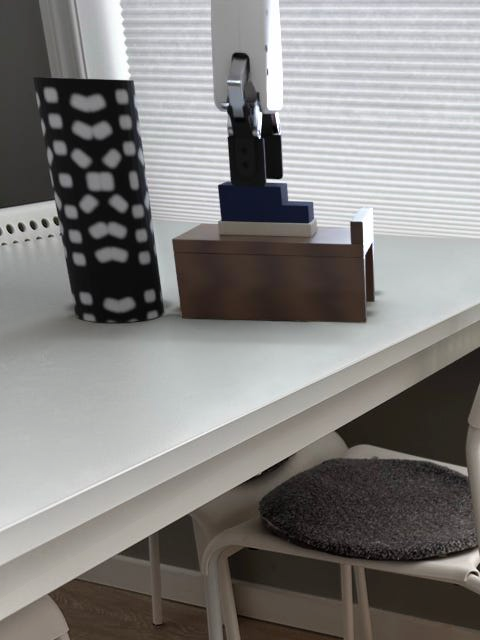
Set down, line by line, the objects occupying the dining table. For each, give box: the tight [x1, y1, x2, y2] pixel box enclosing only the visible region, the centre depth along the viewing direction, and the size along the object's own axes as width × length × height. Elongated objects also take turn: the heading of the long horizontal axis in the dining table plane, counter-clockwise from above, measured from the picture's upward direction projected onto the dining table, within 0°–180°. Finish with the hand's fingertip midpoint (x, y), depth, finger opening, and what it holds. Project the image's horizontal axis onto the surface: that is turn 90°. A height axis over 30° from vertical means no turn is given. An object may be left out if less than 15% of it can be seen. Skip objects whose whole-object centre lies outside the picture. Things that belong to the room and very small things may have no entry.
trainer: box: [217, 180, 318, 237], centre depth 93 cm, size 9×4×4 cm, turn 91°
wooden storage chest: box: [171, 206, 376, 324], centre depth 96 cm, size 18×12×9 cm, turn 91°
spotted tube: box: [32, 76, 165, 324], centre depth 88 cm, size 8×8×20 cm
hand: (258, 182), depth 92 cm, fingers open, 9 cm apart
